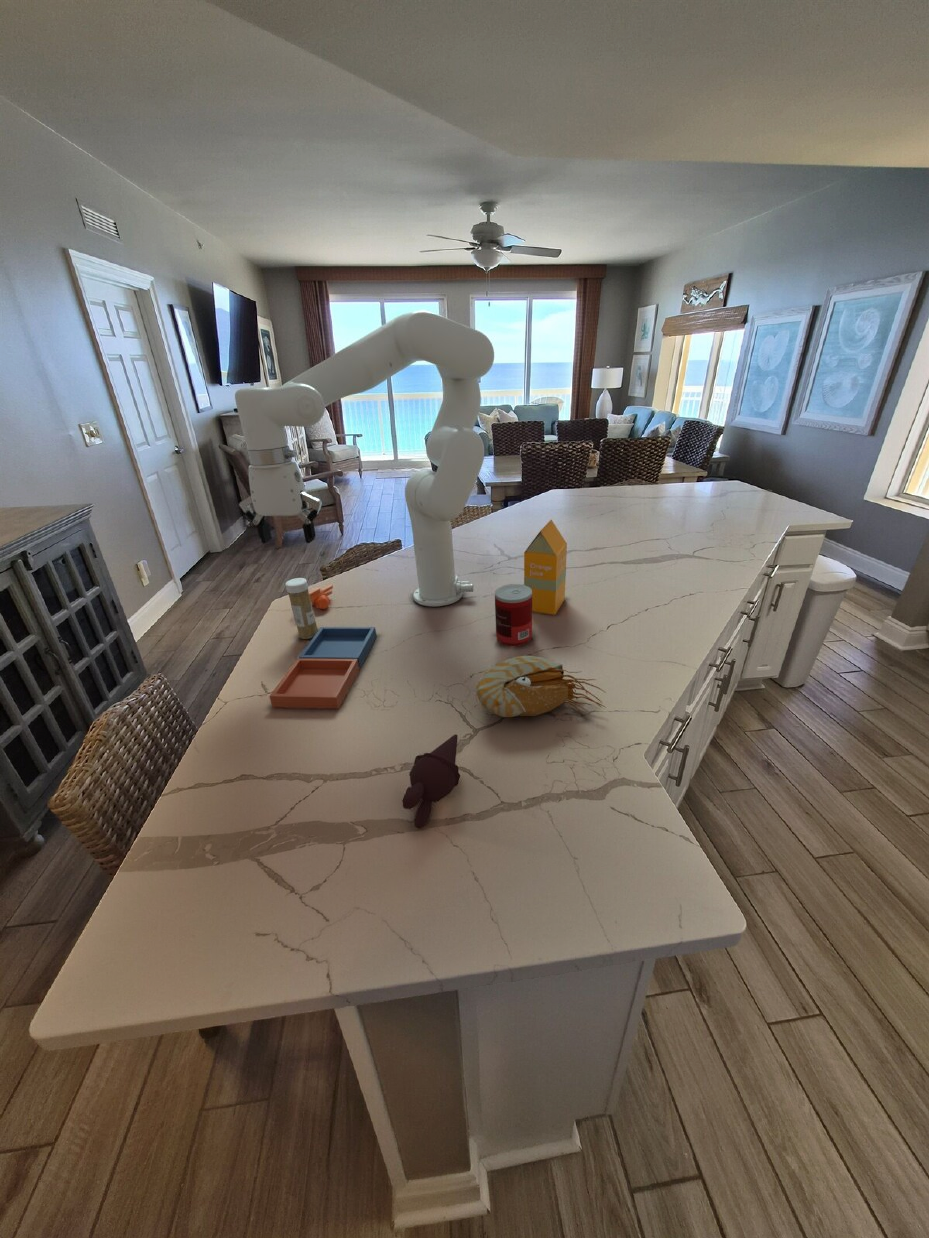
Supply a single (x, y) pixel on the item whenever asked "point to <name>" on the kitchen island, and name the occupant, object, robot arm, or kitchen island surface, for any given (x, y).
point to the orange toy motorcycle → (320, 596)
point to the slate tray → (341, 643)
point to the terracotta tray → (315, 683)
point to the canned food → (513, 614)
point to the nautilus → (528, 687)
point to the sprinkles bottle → (302, 607)
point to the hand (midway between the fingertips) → (288, 541)
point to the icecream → (432, 780)
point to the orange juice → (546, 569)
